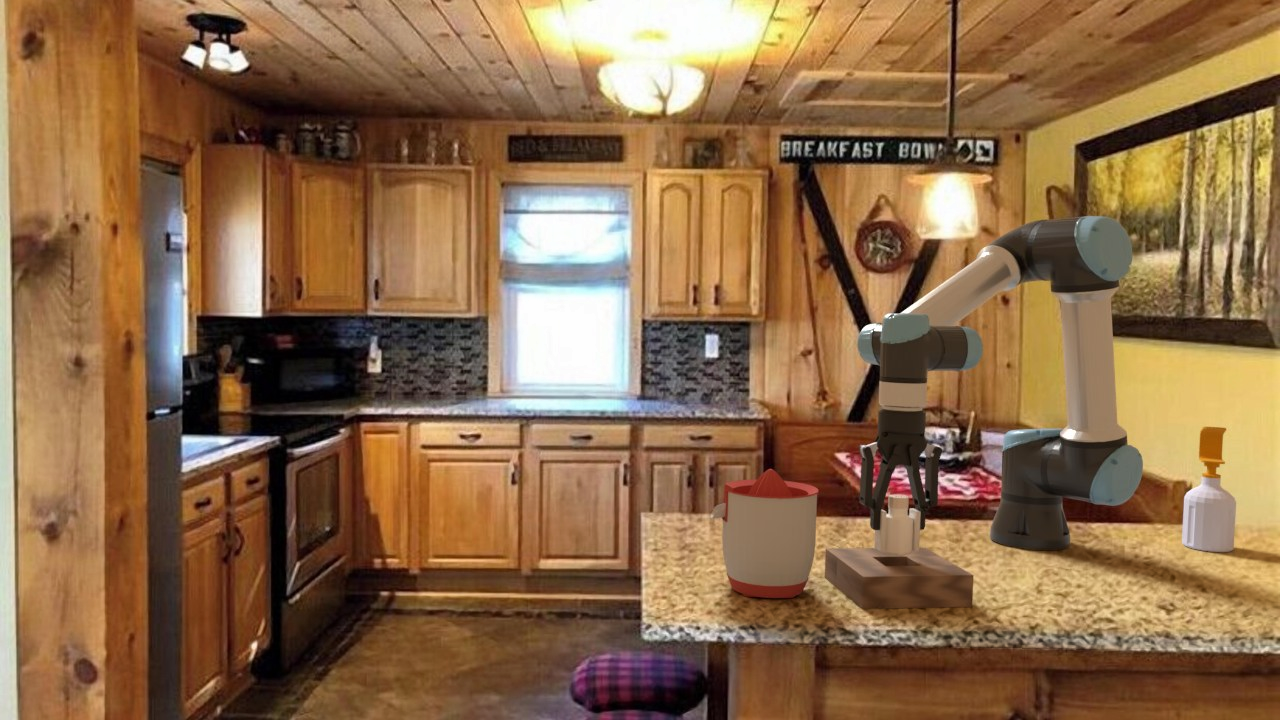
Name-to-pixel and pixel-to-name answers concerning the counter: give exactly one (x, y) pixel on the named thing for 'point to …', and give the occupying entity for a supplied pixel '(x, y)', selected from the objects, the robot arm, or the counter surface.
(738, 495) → the citrus juicer
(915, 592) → the socket block
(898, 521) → the pepper shaker
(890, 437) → the robot arm
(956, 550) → the counter surface
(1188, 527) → the soap bottle
